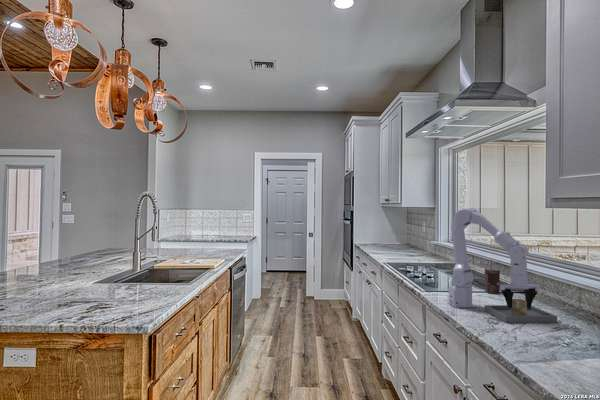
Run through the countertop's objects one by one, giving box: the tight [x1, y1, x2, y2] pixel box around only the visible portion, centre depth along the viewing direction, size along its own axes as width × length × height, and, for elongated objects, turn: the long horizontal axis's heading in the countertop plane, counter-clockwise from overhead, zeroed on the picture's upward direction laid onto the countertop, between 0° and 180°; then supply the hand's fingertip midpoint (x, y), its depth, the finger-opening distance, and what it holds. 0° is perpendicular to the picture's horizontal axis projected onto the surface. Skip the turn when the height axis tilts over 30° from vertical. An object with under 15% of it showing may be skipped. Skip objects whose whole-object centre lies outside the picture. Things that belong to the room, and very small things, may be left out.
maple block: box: [511, 298, 527, 316], centre depth 150 cm, size 4×4×6 cm
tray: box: [484, 304, 558, 324], centre depth 150 cm, size 20×16×2 cm
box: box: [484, 268, 501, 294], centre depth 191 cm, size 6×4×12 cm
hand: (518, 307), depth 150 cm, fingers open, 7 cm apart
